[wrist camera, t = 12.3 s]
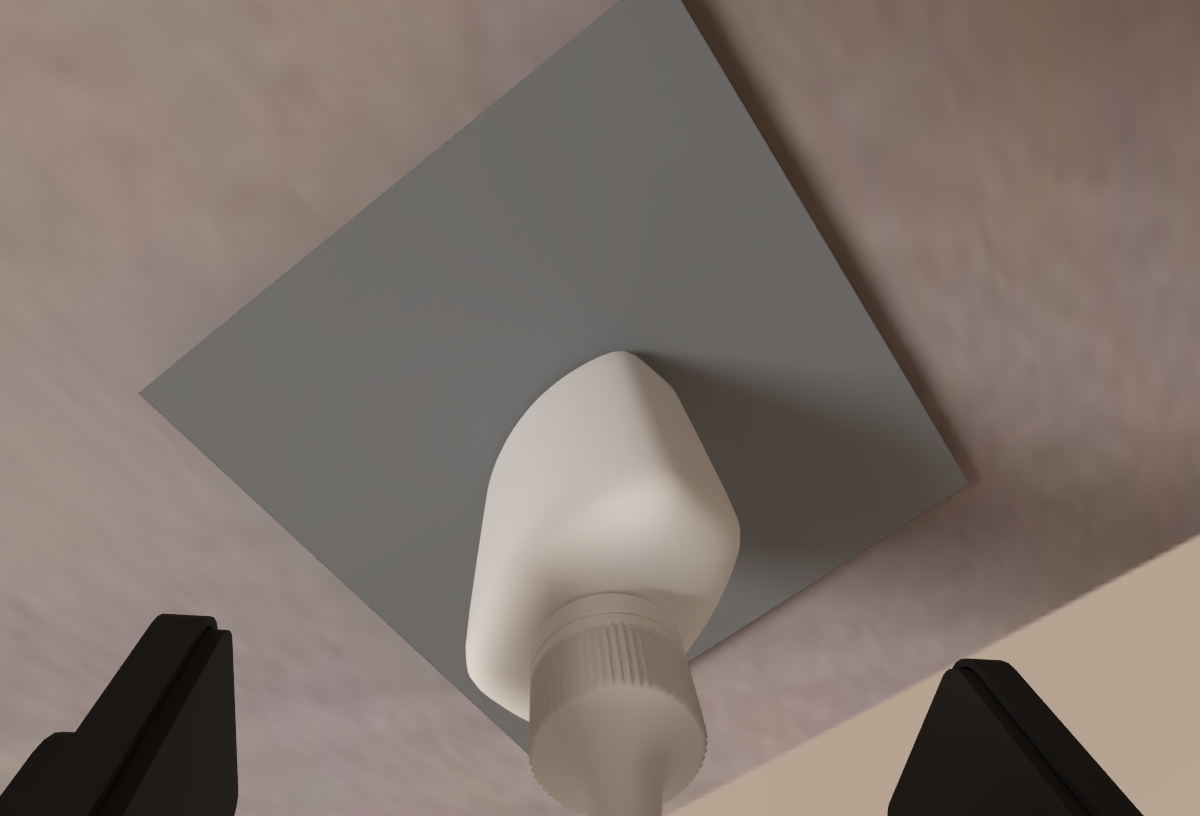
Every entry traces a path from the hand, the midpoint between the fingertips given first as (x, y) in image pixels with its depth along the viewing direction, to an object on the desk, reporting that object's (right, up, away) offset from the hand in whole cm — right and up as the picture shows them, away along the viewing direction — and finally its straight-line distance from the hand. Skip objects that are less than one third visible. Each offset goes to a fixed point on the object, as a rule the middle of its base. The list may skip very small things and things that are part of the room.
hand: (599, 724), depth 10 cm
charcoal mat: (-1, +4, +11) cm, 12 cm away
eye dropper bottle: (-1, +3, +10) cm, 11 cm away
